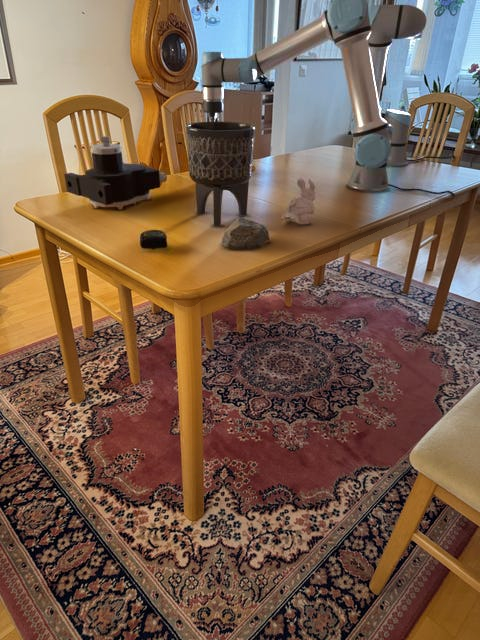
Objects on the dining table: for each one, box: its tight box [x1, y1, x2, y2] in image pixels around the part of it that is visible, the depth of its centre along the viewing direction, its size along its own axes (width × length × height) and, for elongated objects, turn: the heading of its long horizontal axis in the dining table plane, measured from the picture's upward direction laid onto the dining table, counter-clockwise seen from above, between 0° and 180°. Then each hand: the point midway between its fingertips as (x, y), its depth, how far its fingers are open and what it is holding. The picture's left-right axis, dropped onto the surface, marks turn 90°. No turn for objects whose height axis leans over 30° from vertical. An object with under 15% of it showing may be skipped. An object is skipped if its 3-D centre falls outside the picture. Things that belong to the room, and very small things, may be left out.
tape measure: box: [139, 229, 168, 250], centre depth 117 cm, size 7×7×4 cm
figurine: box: [281, 177, 316, 225], centre depth 135 cm, size 8×15×13 cm, turn 145°
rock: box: [221, 216, 270, 250], centre depth 119 cm, size 13×9×6 cm, turn 131°
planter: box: [185, 121, 256, 227], centre depth 134 cm, size 20×20×26 cm
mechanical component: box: [63, 135, 168, 210], centre depth 149 cm, size 22×21×30 cm
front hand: (214, 160), depth 176 cm, fingers open, 13 cm apart
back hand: (372, 99), depth 240 cm, fingers open, 13 cm apart
